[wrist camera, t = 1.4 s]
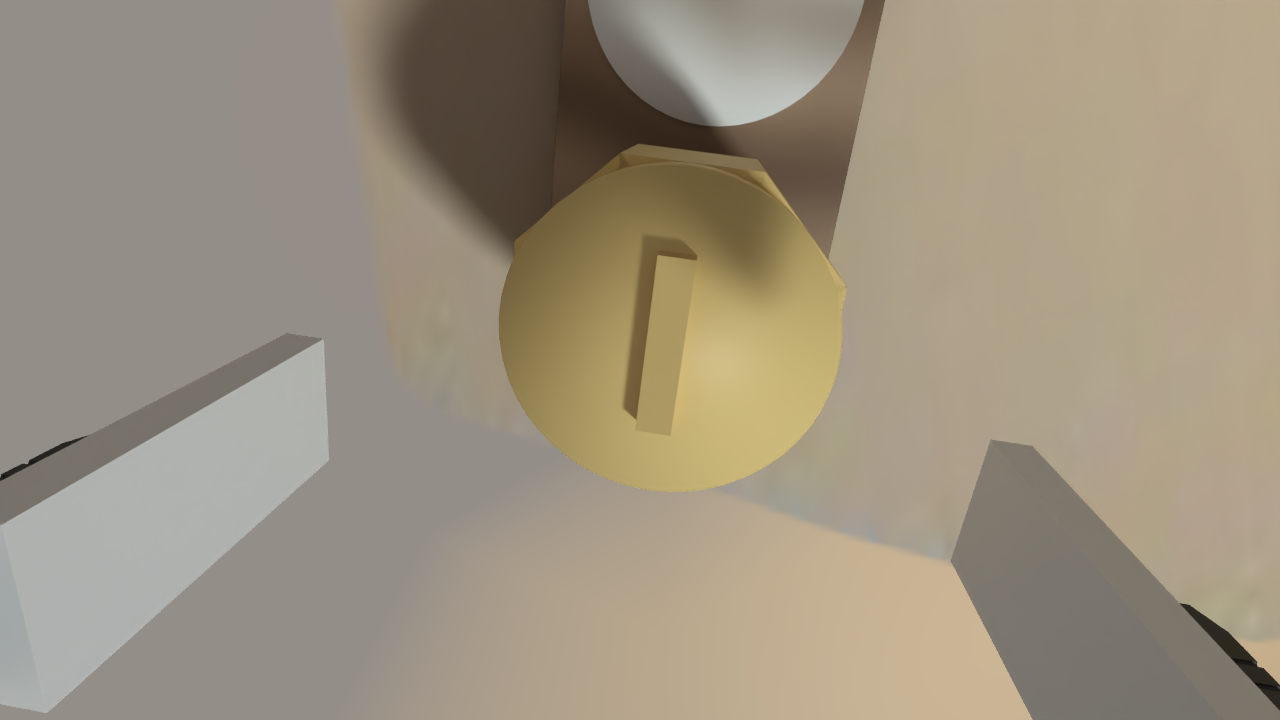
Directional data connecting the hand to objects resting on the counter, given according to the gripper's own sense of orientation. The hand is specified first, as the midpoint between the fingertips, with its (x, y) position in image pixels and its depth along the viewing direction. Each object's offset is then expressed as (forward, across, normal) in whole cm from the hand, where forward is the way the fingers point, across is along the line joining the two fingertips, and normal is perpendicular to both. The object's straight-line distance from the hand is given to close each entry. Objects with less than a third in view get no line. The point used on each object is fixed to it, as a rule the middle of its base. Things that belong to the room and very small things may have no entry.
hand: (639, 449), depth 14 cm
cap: (+11, 0, 0) cm, 11 cm away
